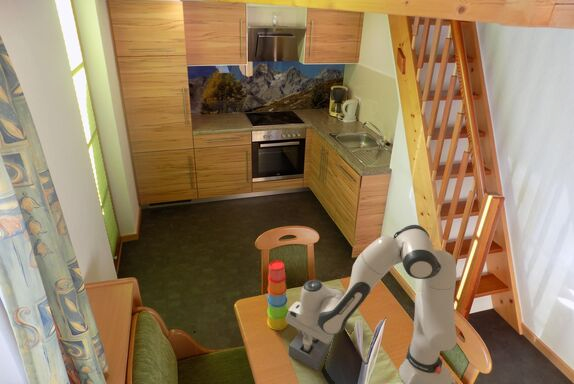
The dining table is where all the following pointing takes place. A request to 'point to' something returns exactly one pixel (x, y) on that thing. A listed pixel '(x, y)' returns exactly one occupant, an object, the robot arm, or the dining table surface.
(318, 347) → the console
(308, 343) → the knob
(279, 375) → the dining table surface
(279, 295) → the stacking cups
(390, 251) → the robot arm
